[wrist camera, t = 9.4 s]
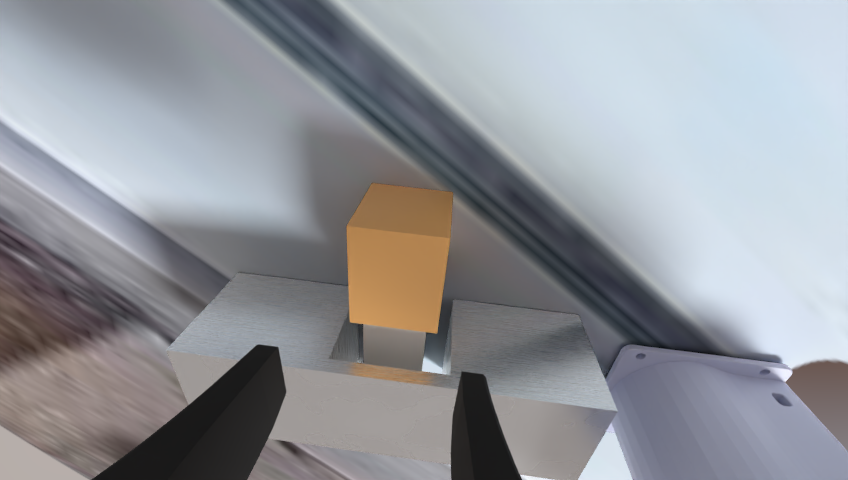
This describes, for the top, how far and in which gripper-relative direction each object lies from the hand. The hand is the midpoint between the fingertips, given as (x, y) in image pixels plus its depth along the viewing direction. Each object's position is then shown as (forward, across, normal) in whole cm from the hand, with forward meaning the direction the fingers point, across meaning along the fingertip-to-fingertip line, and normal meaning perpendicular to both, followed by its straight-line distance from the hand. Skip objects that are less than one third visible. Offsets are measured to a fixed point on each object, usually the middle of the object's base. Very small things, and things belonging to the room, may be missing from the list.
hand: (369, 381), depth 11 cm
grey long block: (+9, 0, +7) cm, 12 cm away
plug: (+10, 0, +5) cm, 11 cm away
